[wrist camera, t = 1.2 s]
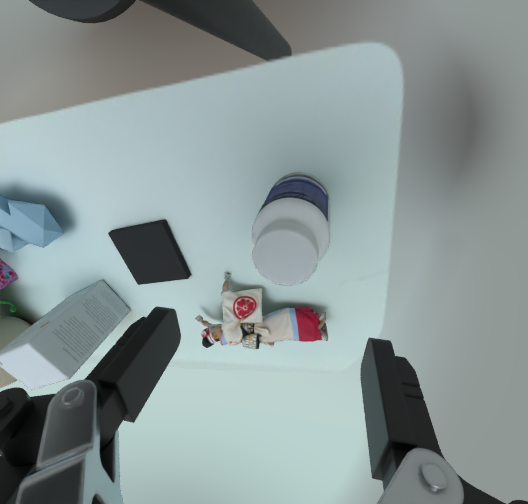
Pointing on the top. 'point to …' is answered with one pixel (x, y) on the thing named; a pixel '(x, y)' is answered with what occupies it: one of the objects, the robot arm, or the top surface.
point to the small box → (64, 337)
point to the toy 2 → (9, 341)
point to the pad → (150, 252)
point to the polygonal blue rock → (26, 225)
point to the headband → (6, 275)
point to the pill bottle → (292, 230)
